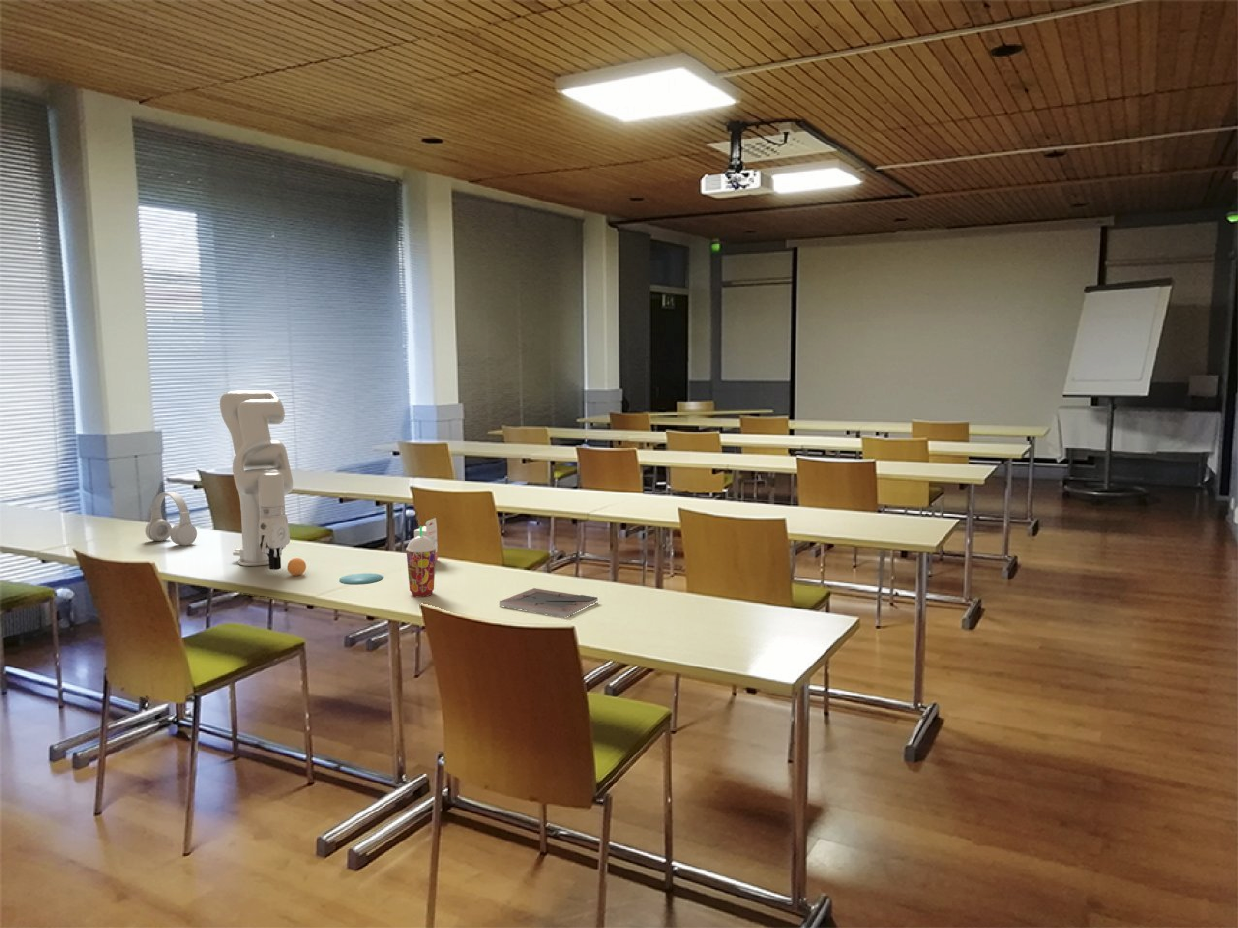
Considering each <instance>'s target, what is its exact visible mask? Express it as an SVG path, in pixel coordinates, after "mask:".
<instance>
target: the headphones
mask: <svg viewBox="0 0 1238 928" xmlns="http://www.w3.org/2000/svg"><path fill="white" fill-rule="evenodd" d="M166 496H169V497H171V499H172V500H173V501H174V502H175V504H176V507H177V509H178V514H179V515H178V516H179V523H176V524H175V525H174V526H173V527H172V525H171V522H168V520H165V519H163V517H162V516H163V515H162V507H161V506H162V504H163V501H164V499H165V497H166ZM150 513H151V514H150V520H149V522H148V523H147V525H146V527H145V535H146V537H147V538H148V539H149V540H151V541H154V542H163V540H164V541H166V540H167V539H168V538H170V539H171V541H172V543H175V545H179V546H182V547H185V546H187V545H188V546H190V545H192V544H194V542H195V541H196V539H197V536H198V532H197V531H198V530H197V528H196V526H194V525H193V523H192V522H191V518H190V515H191V512H190V511H189V509H188V506H187V504H186V501H185V500H184V498H183V496H181V494H179V493H178V492H176V491H165V492H160V493H159V494H157V495H156V496H155V498H154V499H153V503H152V505H151V508H150Z"/></svg>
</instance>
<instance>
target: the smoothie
mask: <svg viewBox="0 0 1238 928" xmlns="http://www.w3.org/2000/svg"><path fill="white" fill-rule="evenodd" d="M422 527H423V526H422V525H420V526H419V528H420V536H417V537H414V536H413V538H412V539H411V540H410V541H409V543H408V544H407V547H406V548H405V550H406V560H407V570H408V571H407V572H408V581H409V582H408V584H409V591H410V592H411V595H412V596H414V597H416V596H424V597H428V596H427V595H429V596H431V595H432V594H433V591H434V590H435V575H436V561H435V555H436V547H435V546H434V543H433V542H432V540H431V539H430V538H428V537H426V536H423V535H422ZM430 594H431V595H430Z"/></svg>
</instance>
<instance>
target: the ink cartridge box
mask: <svg viewBox="0 0 1238 928" xmlns="http://www.w3.org/2000/svg"><path fill="white" fill-rule="evenodd" d="M431 523H432V524H431ZM430 524H431V525H430ZM437 525H438V524H437V518H436V517H434V518H432V519H430V520H429V519H428V520H427V521H426V522H425V525H423V526H422V535H423V536H426V537H428V538H430V539H431V540H432V542H433V543H434V546H435V547H436V555H435V562H436V561H438V559H439V558H438V557H439V555H438V554H439V553H438V551H439V549H438V547H439V546H438V526H437ZM417 536H420V527H419V528H416V529H414V530H413V538H414V537H417Z"/></svg>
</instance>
